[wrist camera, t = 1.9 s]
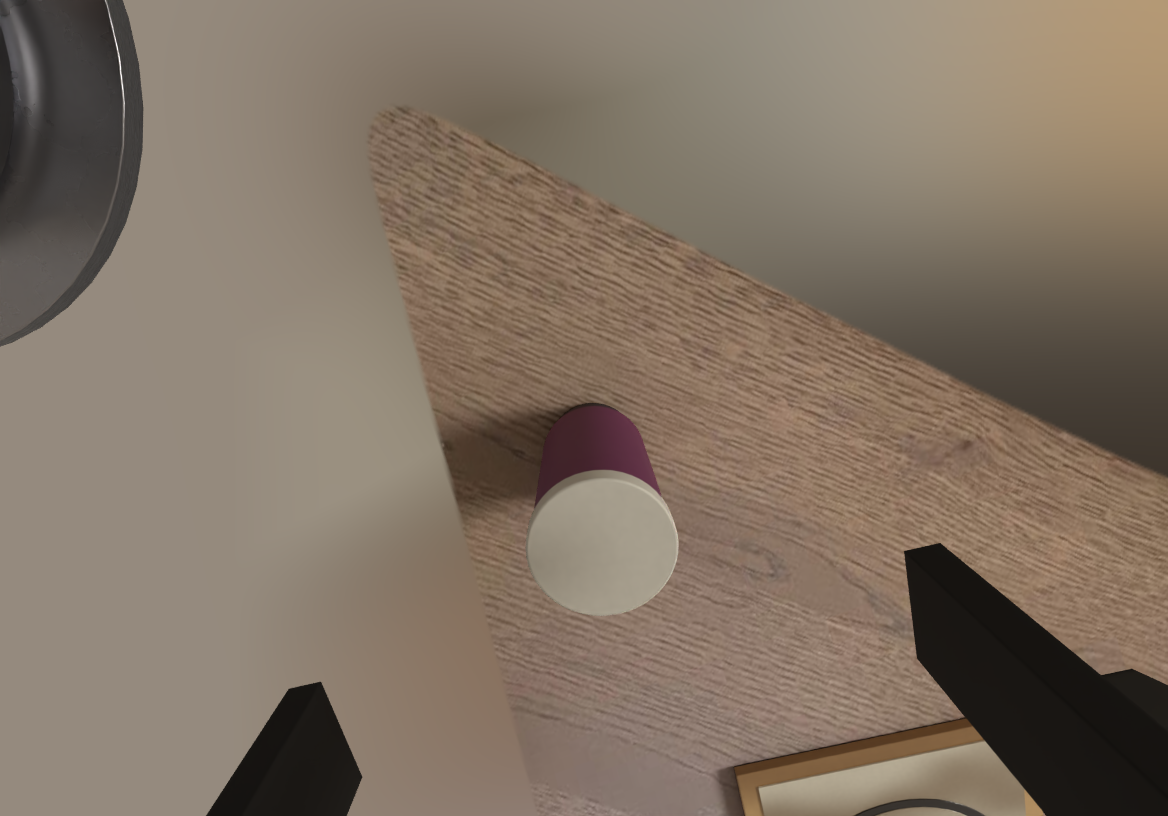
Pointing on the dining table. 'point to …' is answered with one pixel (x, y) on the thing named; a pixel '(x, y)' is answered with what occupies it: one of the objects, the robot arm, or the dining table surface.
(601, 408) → the cylinder
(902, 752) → the sketch board
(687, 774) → the dining table surface
